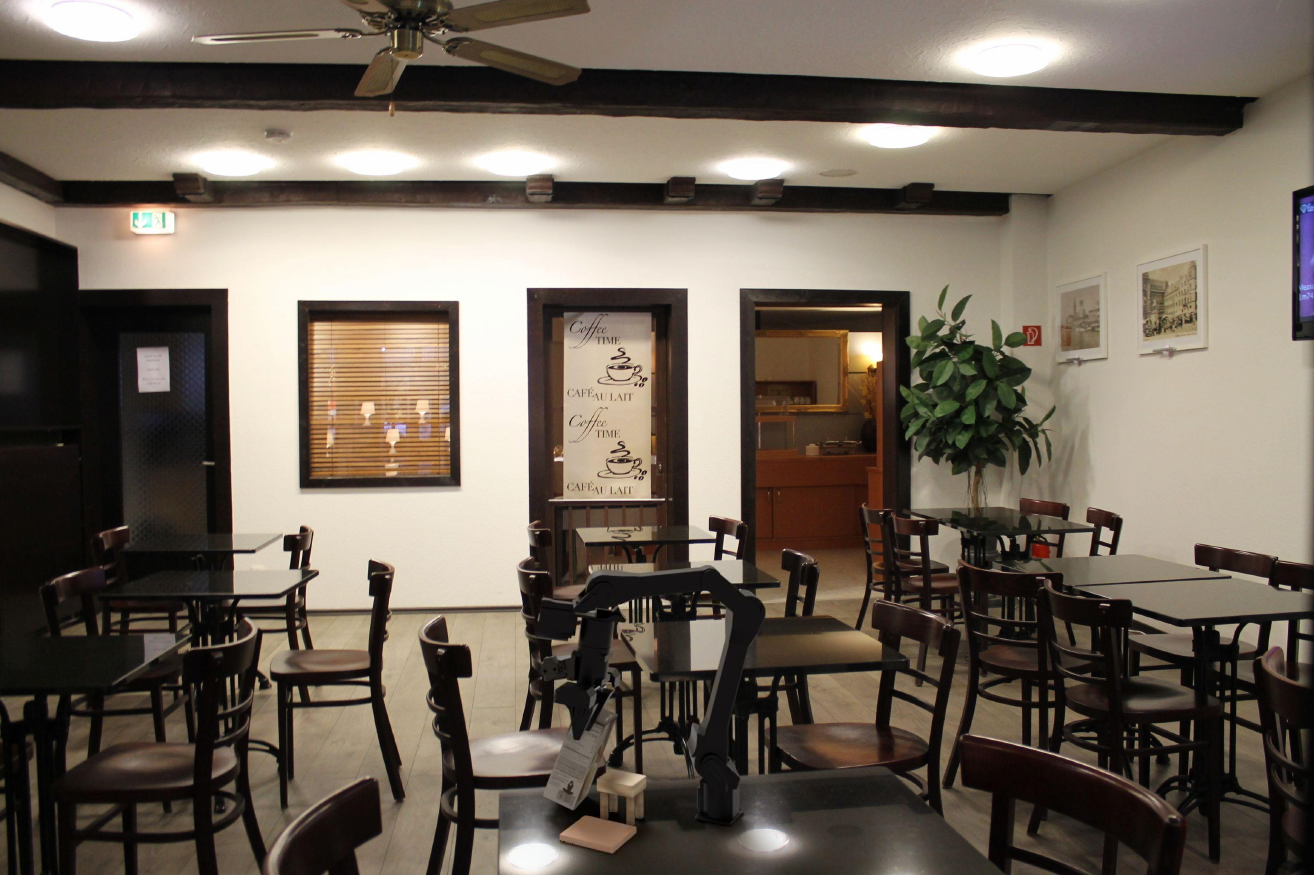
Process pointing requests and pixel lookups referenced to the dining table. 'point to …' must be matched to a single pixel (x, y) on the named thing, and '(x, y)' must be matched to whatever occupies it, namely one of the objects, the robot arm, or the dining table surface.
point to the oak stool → (621, 793)
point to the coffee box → (579, 762)
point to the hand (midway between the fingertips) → (581, 735)
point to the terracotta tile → (598, 834)
